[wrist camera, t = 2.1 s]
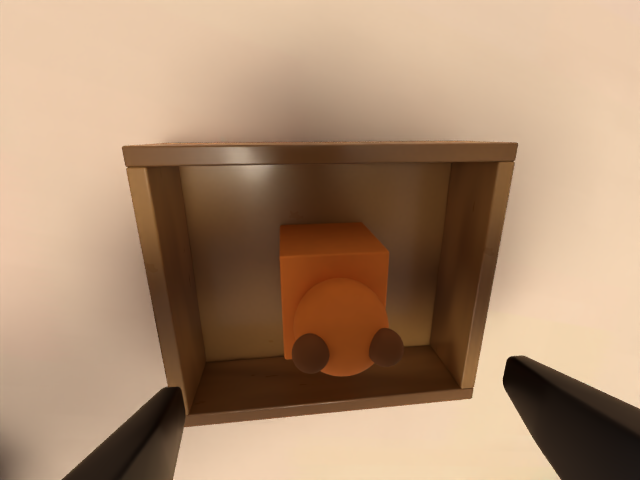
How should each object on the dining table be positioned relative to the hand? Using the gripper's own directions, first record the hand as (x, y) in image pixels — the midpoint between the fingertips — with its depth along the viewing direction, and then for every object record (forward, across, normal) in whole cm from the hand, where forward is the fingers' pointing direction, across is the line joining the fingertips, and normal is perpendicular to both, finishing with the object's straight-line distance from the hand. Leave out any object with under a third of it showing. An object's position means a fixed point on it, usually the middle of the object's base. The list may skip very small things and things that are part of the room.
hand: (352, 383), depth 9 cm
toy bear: (+8, 0, 0) cm, 9 cm away
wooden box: (+9, 0, 0) cm, 9 cm away
